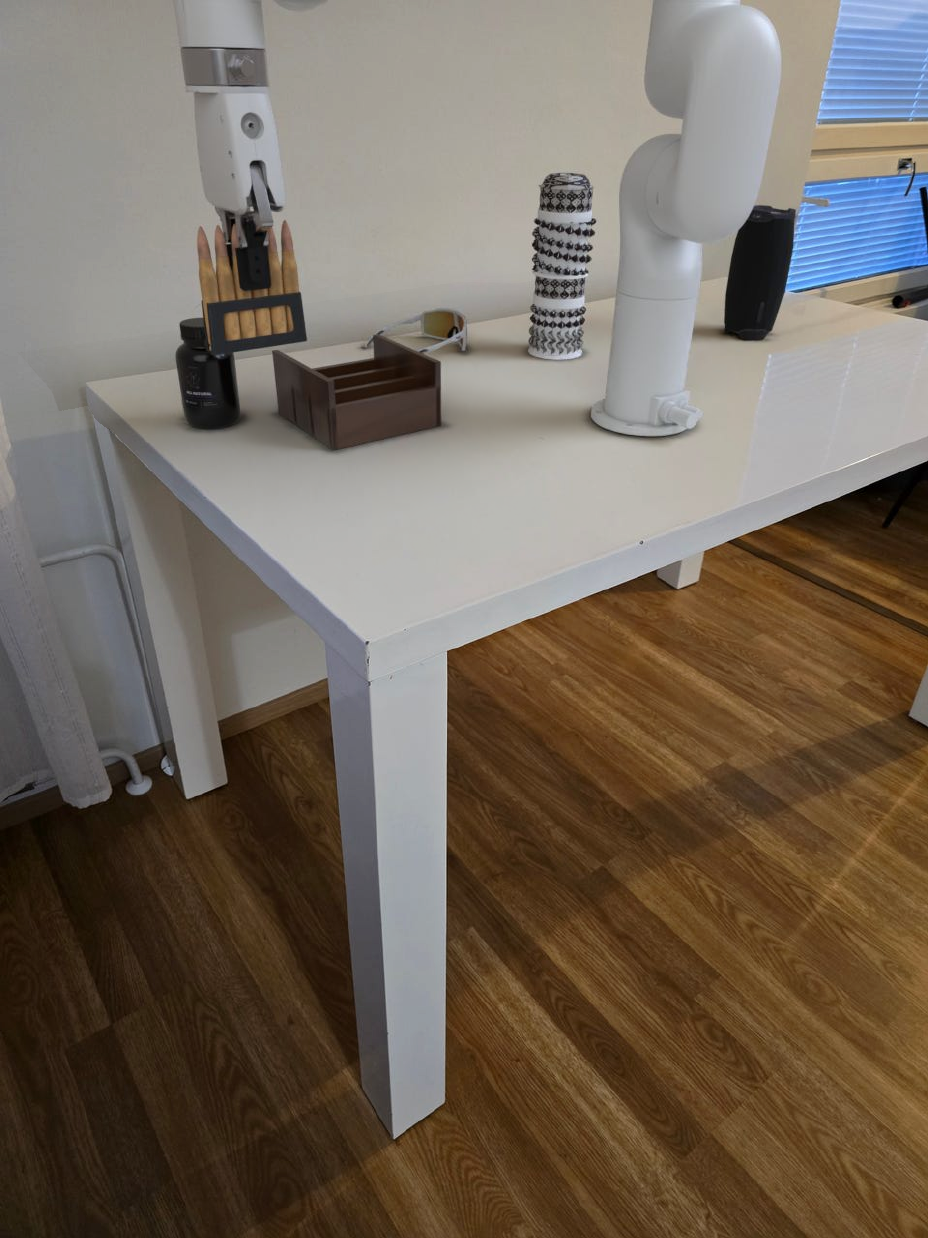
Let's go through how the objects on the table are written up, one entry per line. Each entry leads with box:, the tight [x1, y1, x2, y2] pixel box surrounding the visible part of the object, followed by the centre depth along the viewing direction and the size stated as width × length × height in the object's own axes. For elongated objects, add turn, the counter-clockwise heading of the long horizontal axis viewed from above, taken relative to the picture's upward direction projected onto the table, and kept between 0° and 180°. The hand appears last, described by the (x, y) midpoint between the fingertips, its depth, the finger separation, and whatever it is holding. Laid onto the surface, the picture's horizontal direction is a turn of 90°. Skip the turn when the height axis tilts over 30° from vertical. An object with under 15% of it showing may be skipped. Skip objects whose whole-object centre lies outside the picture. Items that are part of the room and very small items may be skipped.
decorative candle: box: [527, 172, 597, 361], centre depth 127 cm, size 9×9×25 cm
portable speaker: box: [723, 204, 797, 341], centre depth 139 cm, size 9×9×20 cm
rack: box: [271, 333, 442, 451], centre depth 104 cm, size 15×15×8 cm
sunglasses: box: [364, 307, 468, 354], centre depth 133 cm, size 14×15×5 cm
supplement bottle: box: [174, 317, 242, 430], centre depth 102 cm, size 7×7×12 cm
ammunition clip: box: [196, 219, 308, 355], centre depth 87 cm, size 11×2×12 cm, turn 124°
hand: (251, 285), depth 87 cm, fingers closed on ammunition clip, 1 cm apart
